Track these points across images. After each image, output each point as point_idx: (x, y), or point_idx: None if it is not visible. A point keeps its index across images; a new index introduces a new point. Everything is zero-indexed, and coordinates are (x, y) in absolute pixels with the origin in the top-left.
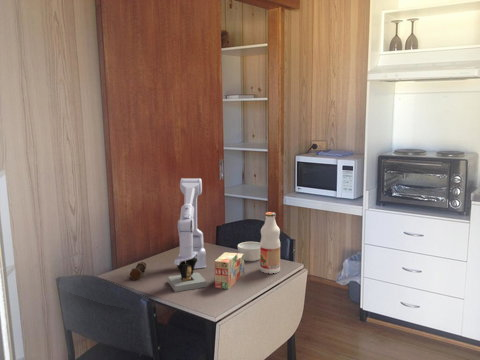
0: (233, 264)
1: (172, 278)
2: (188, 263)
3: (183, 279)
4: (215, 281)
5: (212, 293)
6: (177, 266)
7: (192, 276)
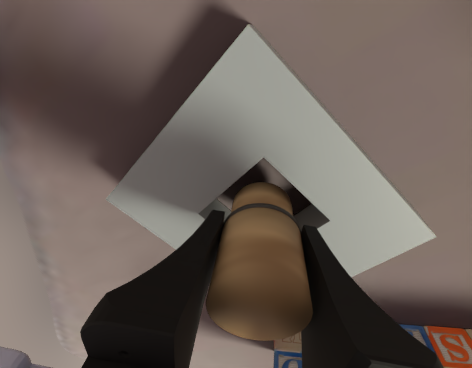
0: None
1: (222, 103)
2: (321, 329)
3: (234, 203)
4: (274, 350)
5: (209, 320)
6: (136, 279)
7: (325, 230)
